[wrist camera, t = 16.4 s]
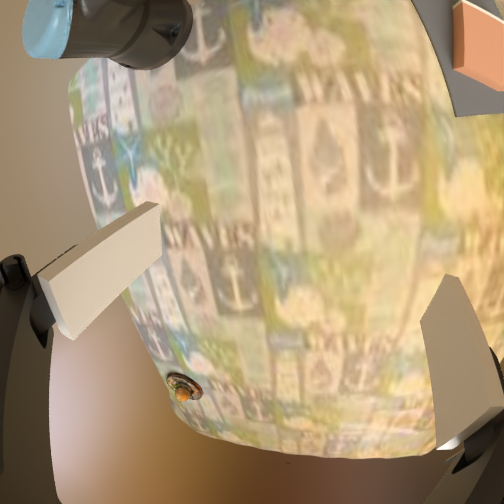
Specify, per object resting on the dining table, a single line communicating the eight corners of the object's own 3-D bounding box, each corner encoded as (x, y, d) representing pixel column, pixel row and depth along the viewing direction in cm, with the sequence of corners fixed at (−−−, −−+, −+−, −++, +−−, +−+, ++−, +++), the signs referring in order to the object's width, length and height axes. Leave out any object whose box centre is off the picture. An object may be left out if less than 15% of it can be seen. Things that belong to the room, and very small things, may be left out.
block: (511, 91, 18) (509, 24, 12) (464, 66, 19) (461, -2, 14) (497, 91, 21) (497, 29, 15) (452, 69, 23) (452, 6, 17)
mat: (404, -11, 19) (405, -13, 18) (487, -7, 12) (489, -8, 12) (455, 116, 26) (457, 117, 26) (530, 112, 20) (532, 112, 19)
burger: (162, 371, 77) (150, 388, 71) (190, 373, 72) (178, 392, 66) (182, 394, 81) (172, 411, 75) (210, 397, 76) (201, 416, 70)
